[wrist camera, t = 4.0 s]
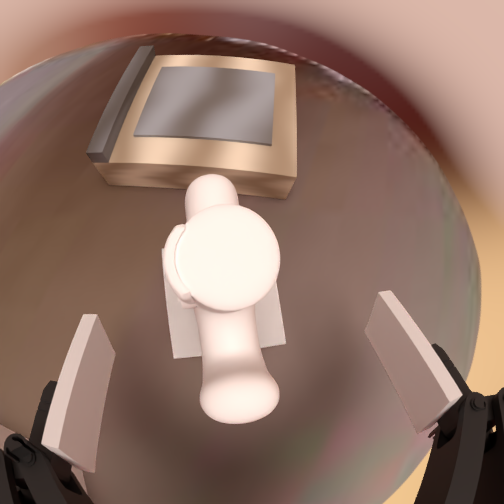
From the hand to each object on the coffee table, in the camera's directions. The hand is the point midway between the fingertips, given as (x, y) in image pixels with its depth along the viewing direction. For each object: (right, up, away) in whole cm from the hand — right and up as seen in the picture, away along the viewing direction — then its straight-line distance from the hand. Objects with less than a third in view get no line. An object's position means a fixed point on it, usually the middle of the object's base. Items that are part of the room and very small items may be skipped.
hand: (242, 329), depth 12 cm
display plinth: (-4, +16, +13) cm, 21 cm away
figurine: (-2, 0, +9) cm, 9 cm away
